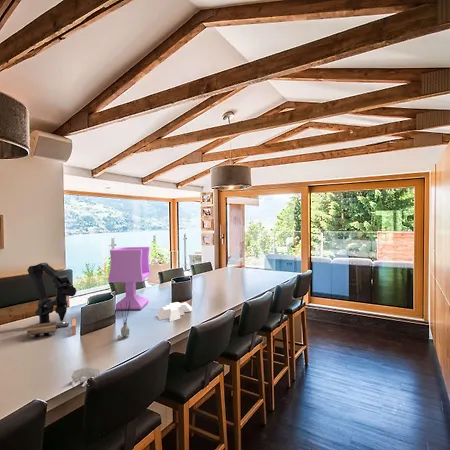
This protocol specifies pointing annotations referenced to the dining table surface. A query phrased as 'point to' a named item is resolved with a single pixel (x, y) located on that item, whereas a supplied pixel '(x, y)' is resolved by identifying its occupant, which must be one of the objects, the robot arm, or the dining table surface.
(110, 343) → the dining table surface
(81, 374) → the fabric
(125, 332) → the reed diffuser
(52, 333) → the roller
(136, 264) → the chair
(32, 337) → the roller
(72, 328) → the bar
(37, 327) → the slab
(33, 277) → the robot arm
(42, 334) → the roller mid
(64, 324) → the roller
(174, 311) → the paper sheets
